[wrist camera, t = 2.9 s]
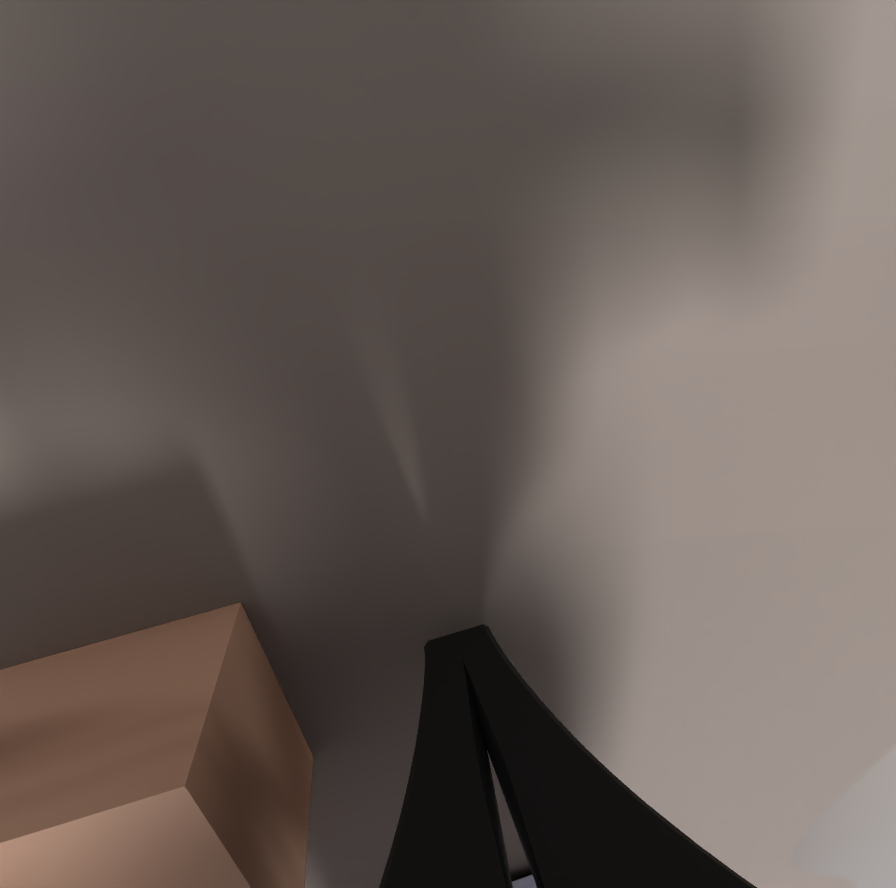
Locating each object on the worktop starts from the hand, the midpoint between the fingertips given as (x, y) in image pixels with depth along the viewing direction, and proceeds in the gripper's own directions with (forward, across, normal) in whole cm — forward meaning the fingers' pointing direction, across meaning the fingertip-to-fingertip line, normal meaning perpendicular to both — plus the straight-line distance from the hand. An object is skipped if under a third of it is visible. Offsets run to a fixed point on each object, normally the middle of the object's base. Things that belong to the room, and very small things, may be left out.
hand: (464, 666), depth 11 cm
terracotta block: (+1, +7, 0) cm, 7 cm away
